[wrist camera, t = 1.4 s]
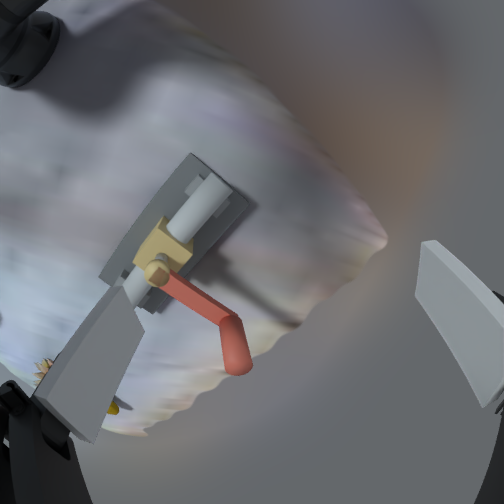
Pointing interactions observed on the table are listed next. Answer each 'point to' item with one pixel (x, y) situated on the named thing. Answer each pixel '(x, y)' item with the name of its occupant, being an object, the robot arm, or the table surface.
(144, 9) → the table surface
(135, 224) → the valve base
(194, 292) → the lever
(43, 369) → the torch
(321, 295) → the table surface
